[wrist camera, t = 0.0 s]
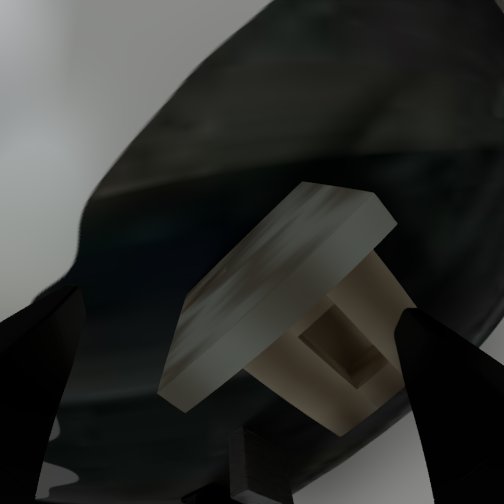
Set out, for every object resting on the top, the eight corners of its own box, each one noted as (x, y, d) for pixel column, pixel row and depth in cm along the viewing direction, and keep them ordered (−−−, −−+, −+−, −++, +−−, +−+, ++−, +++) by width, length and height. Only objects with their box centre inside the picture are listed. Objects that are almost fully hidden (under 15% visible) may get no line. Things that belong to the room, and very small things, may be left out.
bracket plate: (269, 458, 29) (278, 515, 22) (228, 435, 28) (230, 497, 20) (282, 449, 29) (294, 507, 21) (242, 426, 28) (247, 489, 20)
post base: (329, 409, 28) (367, 504, 16) (186, 294, 24) (157, 393, 12) (422, 328, 27) (499, 399, 15) (302, 181, 23) (373, 192, 11)
